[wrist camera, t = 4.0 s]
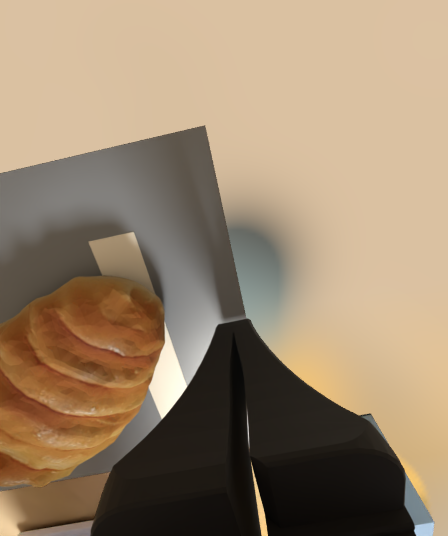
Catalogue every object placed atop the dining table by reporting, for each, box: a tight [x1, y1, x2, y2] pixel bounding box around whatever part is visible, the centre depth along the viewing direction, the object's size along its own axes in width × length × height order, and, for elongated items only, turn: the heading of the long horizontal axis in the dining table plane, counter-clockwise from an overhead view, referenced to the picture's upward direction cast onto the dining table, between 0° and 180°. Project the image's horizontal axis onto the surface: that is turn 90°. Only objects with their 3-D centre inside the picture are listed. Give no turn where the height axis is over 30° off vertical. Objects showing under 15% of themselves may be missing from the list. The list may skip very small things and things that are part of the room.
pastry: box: [0, 275, 165, 487], centre depth 12 cm, size 9×7×4 cm
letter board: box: [0, 126, 249, 491], centre depth 14 cm, size 16×16×1 cm
